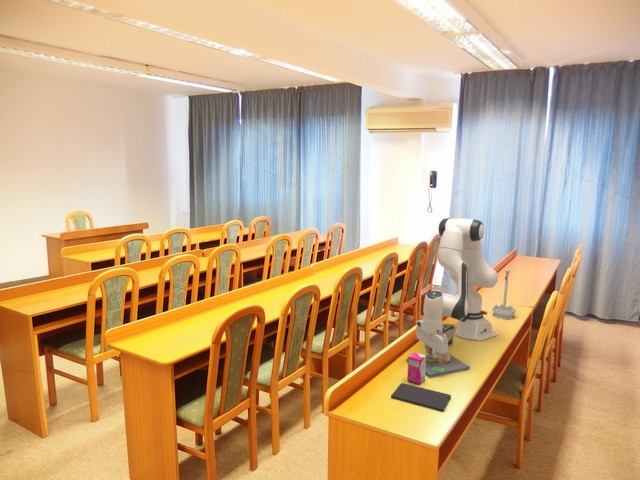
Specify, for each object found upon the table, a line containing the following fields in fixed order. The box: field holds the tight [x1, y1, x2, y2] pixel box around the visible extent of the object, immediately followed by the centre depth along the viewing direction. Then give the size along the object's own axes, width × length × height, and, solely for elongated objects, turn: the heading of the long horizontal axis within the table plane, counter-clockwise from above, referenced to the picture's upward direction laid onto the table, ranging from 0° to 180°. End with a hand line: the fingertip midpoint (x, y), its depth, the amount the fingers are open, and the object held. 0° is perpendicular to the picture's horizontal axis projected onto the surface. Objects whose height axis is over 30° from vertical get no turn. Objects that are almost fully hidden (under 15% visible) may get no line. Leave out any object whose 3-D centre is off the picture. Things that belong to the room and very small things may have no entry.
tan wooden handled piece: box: [426, 346, 451, 364], centre depth 222 cm, size 14×6×8 cm, turn 103°
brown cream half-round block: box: [442, 323, 456, 347], centre depth 246 cm, size 12×6×10 cm, turn 134°
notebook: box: [390, 382, 452, 413], centre depth 193 cm, size 13×2×21 cm
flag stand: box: [492, 267, 517, 320], centre depth 288 cm, size 13×13×30 cm
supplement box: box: [407, 352, 426, 386], centre depth 207 cm, size 6×6×12 cm
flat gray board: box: [406, 352, 471, 379], centre depth 222 cm, size 22×19×2 cm
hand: (430, 355), depth 221 cm, fingers open, 4 cm apart
